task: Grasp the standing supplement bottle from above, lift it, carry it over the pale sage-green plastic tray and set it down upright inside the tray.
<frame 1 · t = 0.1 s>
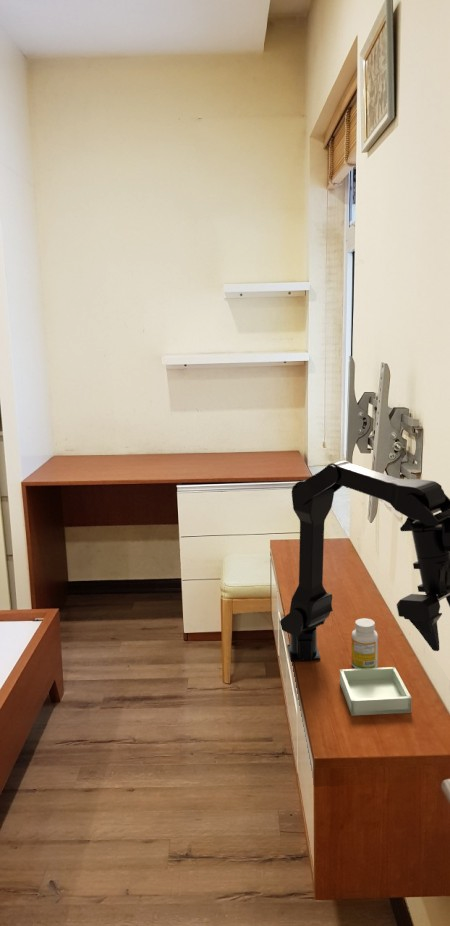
supplement bottle: (364, 666, 139), on the table
tray: (374, 697, 127), on the table
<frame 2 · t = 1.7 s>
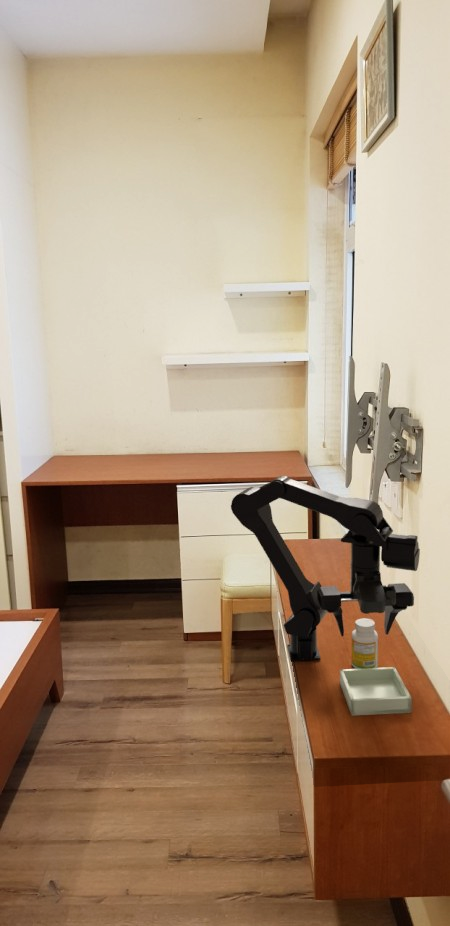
hand: (364, 634, 137), 7 cm above the table, tool pointing down, fingers open, 9 cm apart
nothing on the table moved.
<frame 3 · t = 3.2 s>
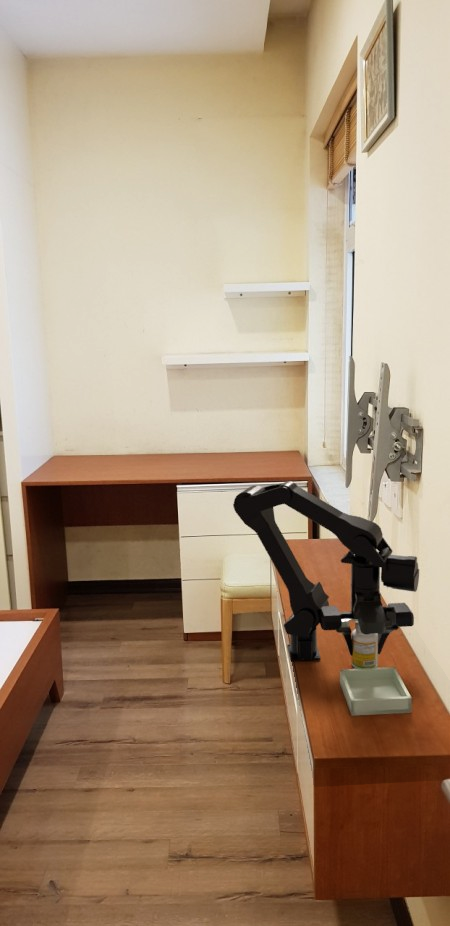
hand: (364, 654, 138), 3 cm above the table, tool pointing down, fingers closed on supplement bottle, 5 cm apart
supplement bottle: (364, 665, 139), on the table, touching gripper
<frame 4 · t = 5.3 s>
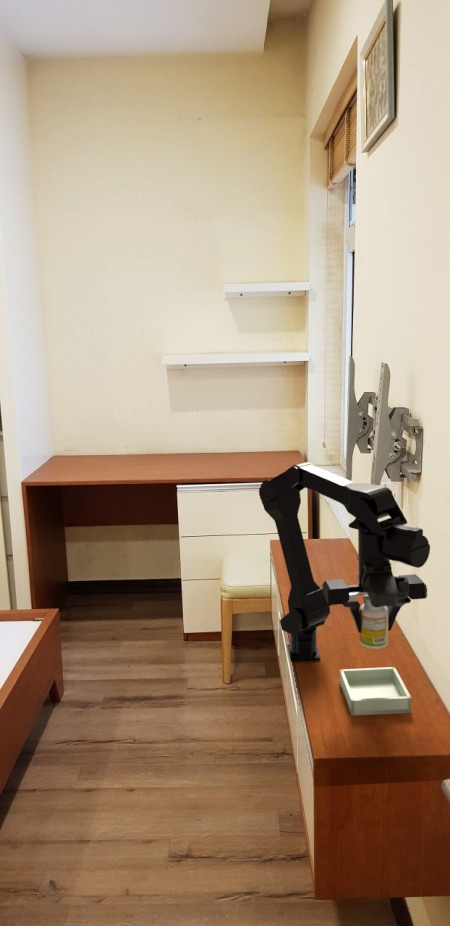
hand: (374, 630, 127), 12 cm above the table, tool pointing down, fingers closed on supplement bottle, 5 cm apart
supplement bottle: (373, 643, 128), point 10 cm above the table, touching gripper
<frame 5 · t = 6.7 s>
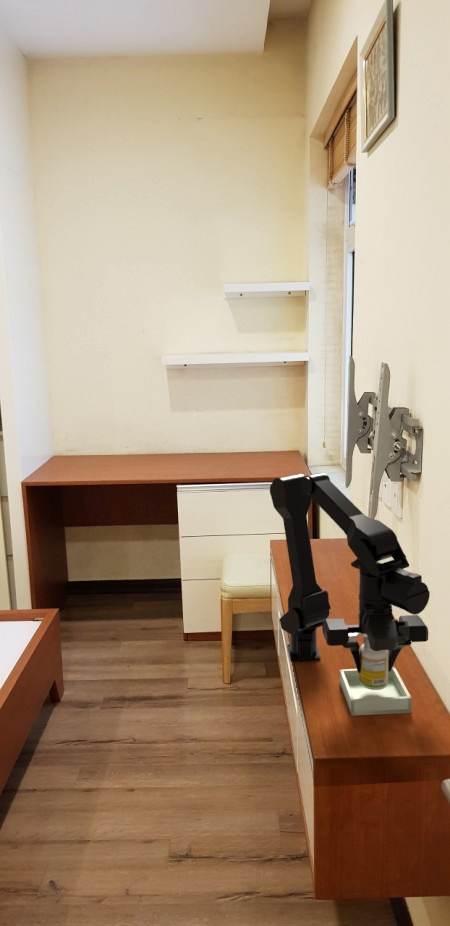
hand: (373, 671, 126), 5 cm above the table, tool pointing down, fingers closed on supplement bottle, 5 cm apart
supplement bottle: (373, 684, 127), point 3 cm above the table, touching gripper
when the fingers open (5 cm above the table, at t = 7.7 s): supplement bottle drops 1 cm, resting on tray.
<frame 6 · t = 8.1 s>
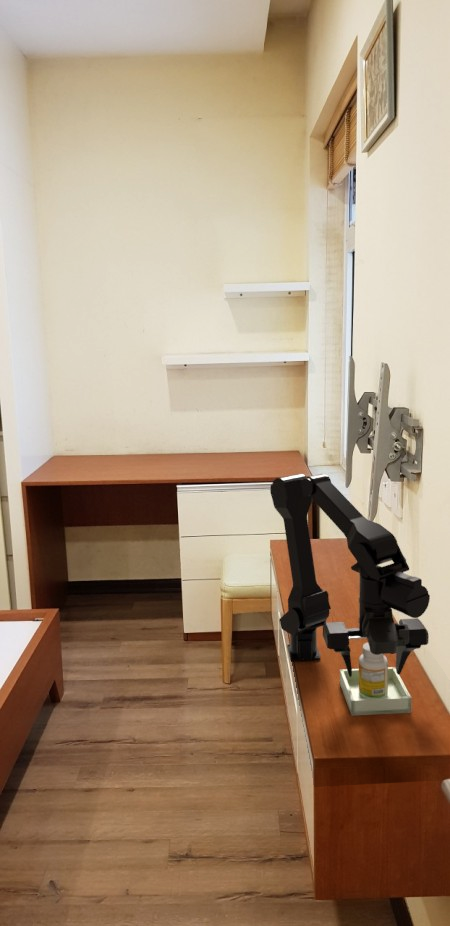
hand: (374, 674, 126), 5 cm above the table, tool pointing down, fingers open, 9 cm apart
supplement bottle: (373, 694, 127), point 1 cm above the table, touching tray
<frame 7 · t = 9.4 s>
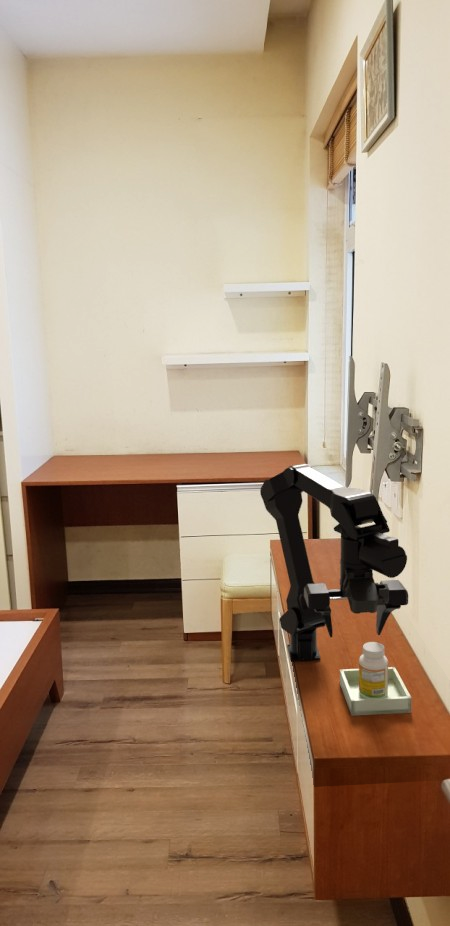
hand: (354, 635, 127), 12 cm above the table, tool pointing down, fingers open, 9 cm apart
nothing on the table moved.
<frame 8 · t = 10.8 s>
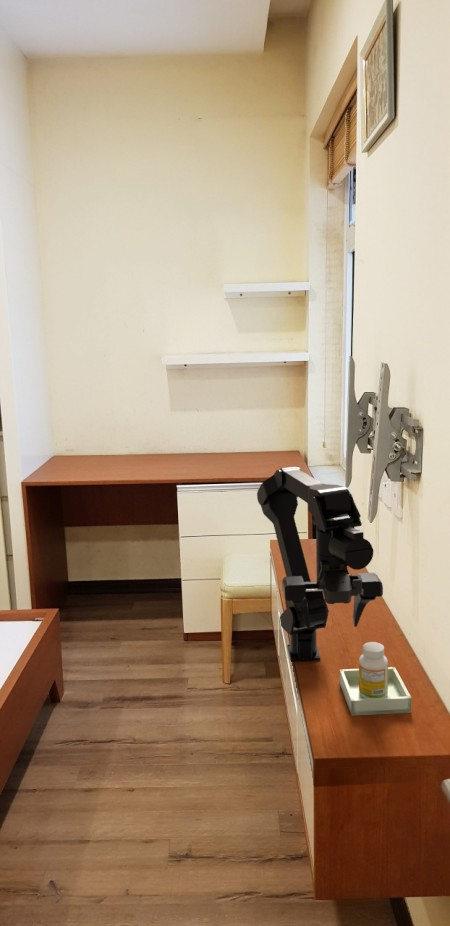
hand: (331, 627, 130), 12 cm above the table, tool pointing down, fingers open, 9 cm apart
nothing on the table moved.
at the end: supplement bottle inside the target area on the tray (0.1 cm from its centre), point 0.6 cm above the tray's base; supplement bottle tilted 0°; the gripper is holding nothing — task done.
